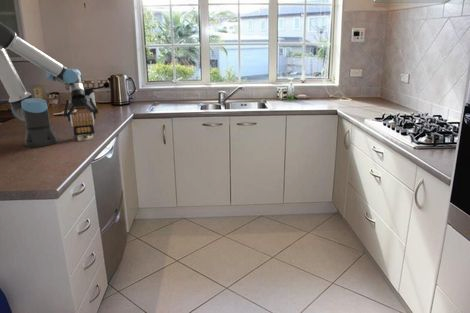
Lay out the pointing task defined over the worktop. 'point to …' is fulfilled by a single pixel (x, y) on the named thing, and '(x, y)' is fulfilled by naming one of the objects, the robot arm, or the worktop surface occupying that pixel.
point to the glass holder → (90, 96)
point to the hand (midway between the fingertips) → (83, 124)
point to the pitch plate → (85, 137)
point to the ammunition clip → (83, 124)
